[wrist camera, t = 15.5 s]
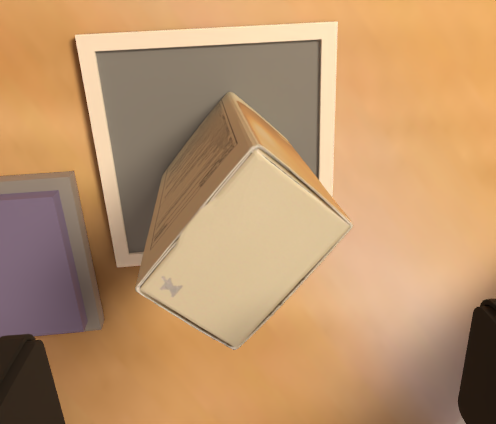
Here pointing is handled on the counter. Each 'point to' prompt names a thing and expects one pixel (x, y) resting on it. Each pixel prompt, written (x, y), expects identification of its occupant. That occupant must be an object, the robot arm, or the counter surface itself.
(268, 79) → the white picture frame
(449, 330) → the counter surface
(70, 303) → the ink pad
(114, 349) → the counter surface
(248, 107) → the skincare box
